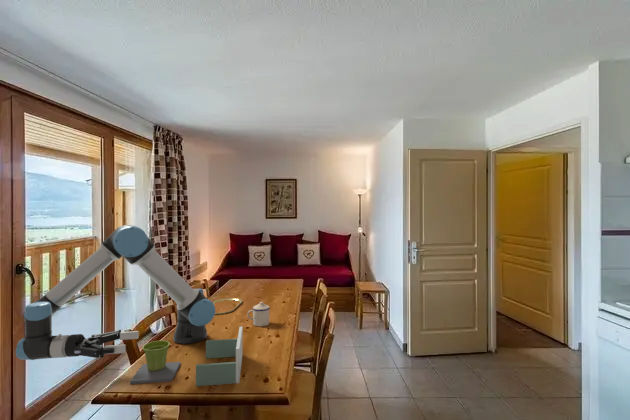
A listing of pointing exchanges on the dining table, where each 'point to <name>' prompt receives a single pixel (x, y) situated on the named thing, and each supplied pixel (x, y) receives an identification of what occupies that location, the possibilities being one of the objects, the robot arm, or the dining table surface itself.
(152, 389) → the dining table surface
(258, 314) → the teacup with lid
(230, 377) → the grey-green angled panels
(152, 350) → the plant pot
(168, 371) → the slate mat
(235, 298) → the brass wire loop
